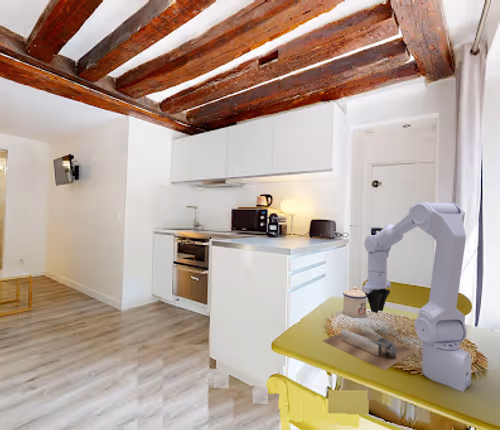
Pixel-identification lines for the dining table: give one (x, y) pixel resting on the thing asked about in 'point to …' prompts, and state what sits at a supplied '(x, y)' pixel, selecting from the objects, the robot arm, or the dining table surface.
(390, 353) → the bar
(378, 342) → the arm
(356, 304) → the teacup with lid
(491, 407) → the dining table surface
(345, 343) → the walnut board
